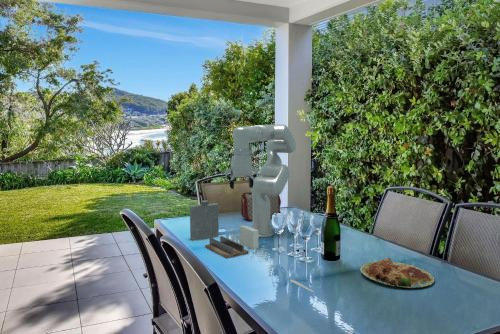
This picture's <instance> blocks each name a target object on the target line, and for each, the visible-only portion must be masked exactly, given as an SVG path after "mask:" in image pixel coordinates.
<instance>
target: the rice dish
mask: <svg viewBox="0 0 500 334" xmlns="http://www.w3.org/2000/svg"><path fill="white" fill-rule="evenodd" d="M359 272H360V273H361V274H362V275H363V276H365V277H366V278H368V279H370V280H373V281H375V282H378V283H379V284H383V285H386V286H391V287H395V286H394V285H396V286H397V287H398V288H404V289H405V288H406V289H407V288H409V289H412V288H418V286H420V285H421V286H420V287H419V288H426V287H429V286H432V285H433V284H434V283H435V281H436V280H435V276H434V275H432V274H431V273H430V272H429V271H427V270H425V269H423V268H421V267H419V266H415V265H413V264H407V263H404V262H401V261H399V262H397V261H393V260H391V258H390V257H385V258H383V259H380V260H376V261H369V262H368V261H367V262H366V263H364V264H361V266H360V267H359ZM381 281H382V282H381ZM384 282H385V283H384ZM421 283H422V284H421ZM424 283H426V284H424ZM417 284H418V285H417ZM411 285H414V286H412V287H409V286H411Z"/></svg>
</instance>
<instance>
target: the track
mask: <svg viewBox="0 0 500 334" xmlns="http://www.w3.org/2000/svg"><path fill="white" fill-rule="evenodd" d="M204 246H205V247H204V248H206V249H208V250H209V251H211V252H213V253H214V254H217V255H218V256H221V257H223V258H224V259H229V258H236V257H239V256H244V255H249V250H247V249H245V246H244V245H242V244H240V242H236V241H234V240H232V239H230V238H227V237H225V236H222V235H220V236H219V240H217V239H214V237H213V238H209V243H208V244H205V245H204Z"/></svg>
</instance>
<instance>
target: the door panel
mask: <svg viewBox="0 0 500 334" xmlns="http://www.w3.org/2000/svg"><path fill="white" fill-rule="evenodd" d="M239 244H241V245H243V246H244V247H247V248H249V249H251V250H257V249H259V237H258V230H256V229H253V227H251V226H249V225H248V226H247V225H243V224H242V225H240V226H239Z"/></svg>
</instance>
